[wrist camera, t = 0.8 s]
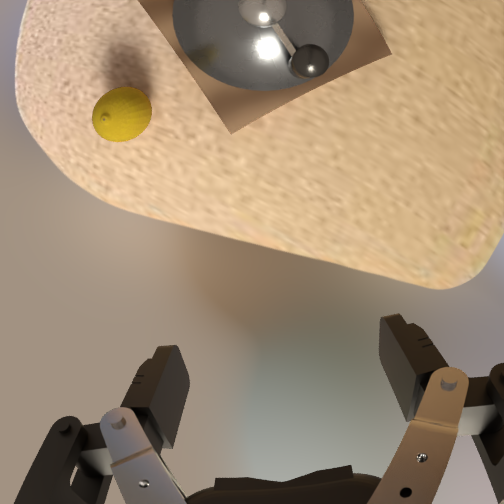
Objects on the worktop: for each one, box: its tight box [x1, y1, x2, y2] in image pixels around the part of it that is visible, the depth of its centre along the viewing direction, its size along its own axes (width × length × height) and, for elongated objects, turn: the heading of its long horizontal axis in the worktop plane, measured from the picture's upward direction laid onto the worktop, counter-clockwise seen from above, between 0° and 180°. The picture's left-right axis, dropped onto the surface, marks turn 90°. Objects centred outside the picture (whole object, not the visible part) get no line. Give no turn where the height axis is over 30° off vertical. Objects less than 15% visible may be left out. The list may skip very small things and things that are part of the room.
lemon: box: [92, 87, 152, 142], centre depth 27 cm, size 6×6×8 cm
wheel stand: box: [138, 0, 392, 134], centre depth 24 cm, size 18×18×3 cm
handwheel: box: [172, 0, 354, 91], centre depth 19 cm, size 16×16×9 cm
